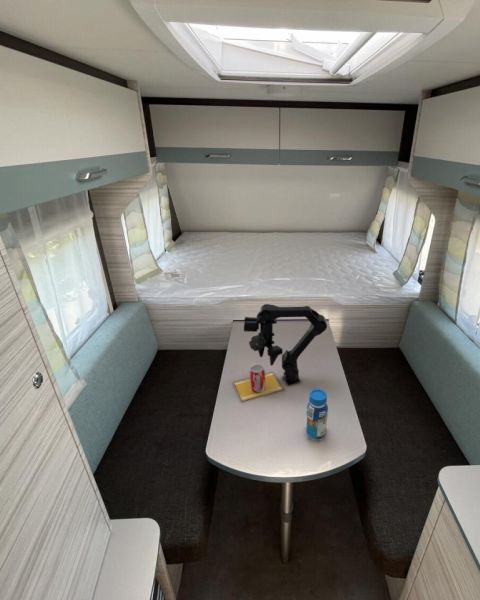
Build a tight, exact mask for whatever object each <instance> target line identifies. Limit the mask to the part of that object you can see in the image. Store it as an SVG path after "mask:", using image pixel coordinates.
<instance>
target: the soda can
mask: <svg viewBox="0 0 480 600" xmlns="http://www.w3.org/2000/svg"><path fill="white" fill-rule="evenodd" d="M265 374H266V371H265V368H264V367H263V366H262V365H261V364H255V365H252V366H251V367H250V370H249V379H250V385H251V390H252V391H253V392H255V393H260V392H262V391H264V390H265Z"/></svg>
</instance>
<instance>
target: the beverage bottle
mask: <svg viewBox="0 0 480 600" xmlns="http://www.w3.org/2000/svg"><path fill="white" fill-rule="evenodd" d="M308 401H309V402H308V403H307V405H306V429H305V434H306V436H307V437H308V438H309V439H311V440H313V441H321V440H324V439H325V438H326V435H327V425H328V424H327V423H328V417H329V406H328V404H327V401H328V393H327V392H326V391H325V390H324V389H321V388H315V389H312V390H310V392H309V395H308Z"/></svg>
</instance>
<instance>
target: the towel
mask: <svg viewBox="0 0 480 600" xmlns="http://www.w3.org/2000/svg"><path fill="white" fill-rule="evenodd" d="M233 384H234V386H235V388H236V391H237V392H238V395H239V397H240V400H241V401H242V402H245V401H249V400H253V399H255V398H259V397H262V396H266V395H269V394H273V393H277V392H279V391H283V387H282V385H281V384H280V383H279V381H278V380H277V378H276V376H275V374H273V372H269V373H265V390H264V391H262V392H260V393H255V392H253V391H252V390H251V385H250V378H247V379H243V380H239V381H235V382H234V383H233Z"/></svg>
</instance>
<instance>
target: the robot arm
mask: <svg viewBox="0 0 480 600" xmlns="http://www.w3.org/2000/svg"><path fill="white" fill-rule="evenodd" d="M279 318H305V319H307V320H308V321H309V323H310V324H309V327H308V329H307V330H306V331H305V333H304V334H303V336H302V337H301V338H300V339H299V340H298V342H297V343H296V344H295V345H294V347H292V349H291V350H288V349H285V351H283V348H282V347H280V346H279V345H275V341H274V340H273V337H274V336H275V332H273V328H274V326H273V325H274V324H275V325H276V324H277V323H278V322H277V321H278V319H279ZM327 328H328V324H327V320H326V317H325V316H324V315H322V314H320V313H319V312H317V311H316V310H315V309H313V308H312V307H310V306H309V305H305V306H278V305H275V304H269V303H266V304H263V305H261V307H260V310H259V312H258V313H257V314H256V317H254V316H253V317H250V316H245V317H244V323H243V332H245V333H247V332H249V333H250V332H251V333H253V332H254V333H256V332H258V330H260V331H259V332H258V333H257V334H255V335H253V336H251V338H250V341H249V342H248V344H249V347H250V349H251V350H253V351H254V352H258V355H259V357H260V358H263V356H264V354H265V353H264V352H265V348H267V350H266V352H267V356H269V364H270V366H274V364H275V362H276V360H277V359H278V357H279V356H280V355H281V368H282V370H283V371H284V372H283V376H282V379H283V381H284V382H285V383H286V384H287V385H288V386H291V385H294V384H297V383H300V382H301V380H300V379H299V374H300V373H299V372H300V371H299V367H298V359H299V357H300V356H301V354H302V353H303V352H304V351H305V350H306V349H307V347H308V346H309V345H310V344H311V343H312V341H313V340H314V339H315V338H316V337H317V336H320V335H321V334H322V333H324V332H325V331H326V330H327ZM283 352H284V353H283Z"/></svg>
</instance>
